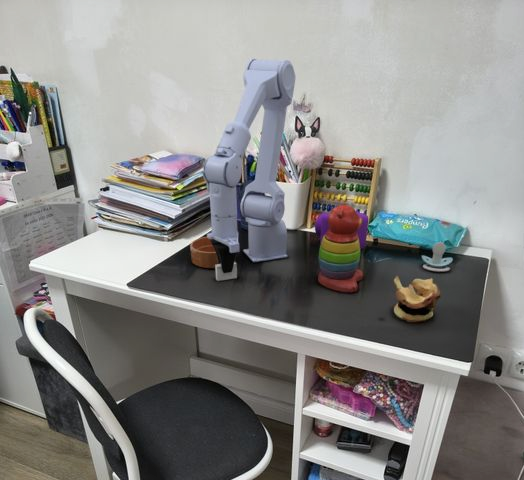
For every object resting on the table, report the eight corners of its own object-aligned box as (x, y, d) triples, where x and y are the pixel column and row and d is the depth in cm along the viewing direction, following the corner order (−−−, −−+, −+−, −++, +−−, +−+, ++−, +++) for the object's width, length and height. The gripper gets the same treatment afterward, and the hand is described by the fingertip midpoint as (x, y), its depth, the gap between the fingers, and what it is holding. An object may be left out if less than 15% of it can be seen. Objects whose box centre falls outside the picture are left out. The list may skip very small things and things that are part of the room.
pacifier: (451, 274, 120) (450, 264, 125) (457, 250, 116) (455, 240, 121) (420, 272, 121) (419, 261, 126) (425, 248, 117) (424, 238, 122)
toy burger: (429, 331, 97) (438, 293, 93) (381, 320, 101) (386, 283, 97) (441, 305, 106) (449, 270, 102) (396, 296, 110) (401, 261, 105)
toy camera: (325, 235, 141) (328, 200, 136) (369, 246, 135) (374, 209, 129) (305, 247, 134) (307, 210, 128) (350, 259, 127) (355, 221, 122)
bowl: (227, 250, 132) (226, 234, 130) (241, 266, 124) (240, 249, 121) (187, 256, 129) (185, 239, 126) (198, 272, 120) (196, 255, 118)
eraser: (215, 278, 117) (215, 264, 115) (235, 276, 119) (235, 261, 117) (217, 281, 116) (216, 266, 114) (236, 278, 118) (236, 263, 116)
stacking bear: (355, 294, 111) (364, 216, 101) (311, 287, 114) (316, 210, 104) (364, 275, 119) (373, 201, 109) (323, 269, 122) (328, 196, 112)
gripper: (197, 206, 114) (201, 261, 121) (215, 226, 102) (219, 286, 110) (227, 202, 116) (229, 257, 123) (248, 222, 104) (249, 281, 112)
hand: (226, 270), depth 117 cm, fingers closed on eraser
